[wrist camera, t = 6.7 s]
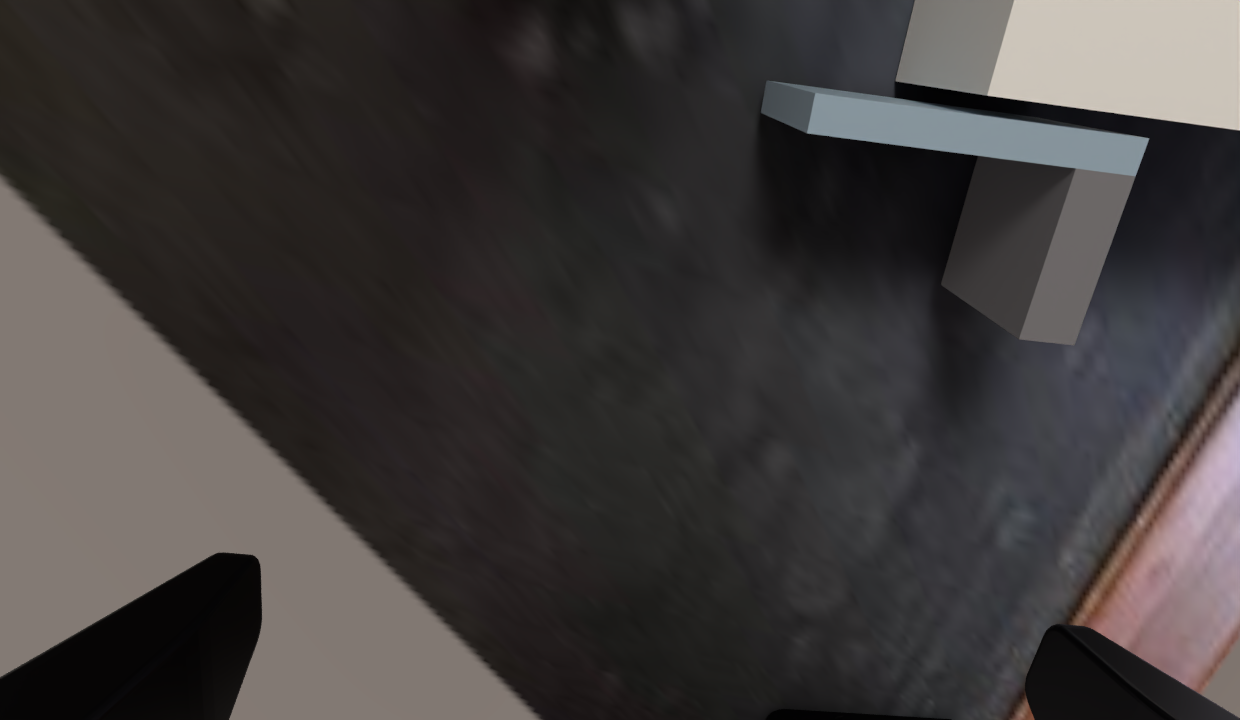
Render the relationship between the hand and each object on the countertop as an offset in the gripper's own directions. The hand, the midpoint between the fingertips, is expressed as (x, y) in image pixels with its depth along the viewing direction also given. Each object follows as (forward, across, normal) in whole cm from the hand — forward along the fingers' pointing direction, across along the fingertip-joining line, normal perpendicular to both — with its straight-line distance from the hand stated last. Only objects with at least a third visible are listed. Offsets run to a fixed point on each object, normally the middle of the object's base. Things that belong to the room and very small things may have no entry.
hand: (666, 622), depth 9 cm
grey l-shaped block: (+12, -6, -3) cm, 13 cm away
